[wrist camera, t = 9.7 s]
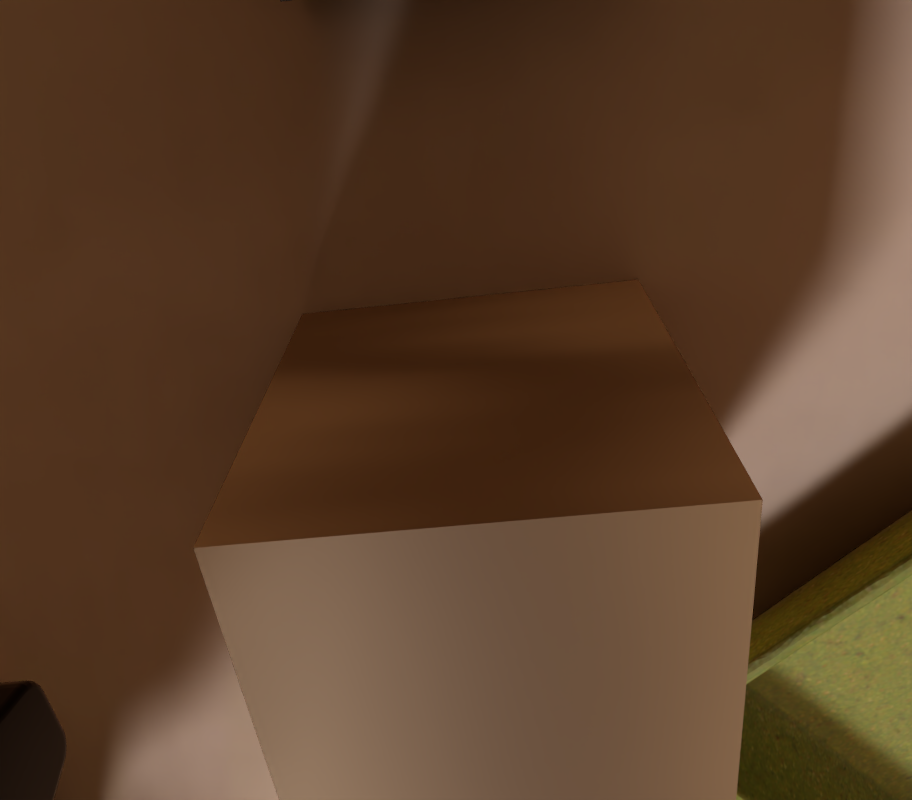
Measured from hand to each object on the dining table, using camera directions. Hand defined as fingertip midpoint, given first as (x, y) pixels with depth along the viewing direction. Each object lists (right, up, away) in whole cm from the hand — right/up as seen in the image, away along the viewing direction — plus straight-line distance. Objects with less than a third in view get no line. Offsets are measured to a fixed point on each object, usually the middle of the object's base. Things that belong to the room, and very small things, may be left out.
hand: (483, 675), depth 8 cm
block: (0, +2, +4) cm, 4 cm away
